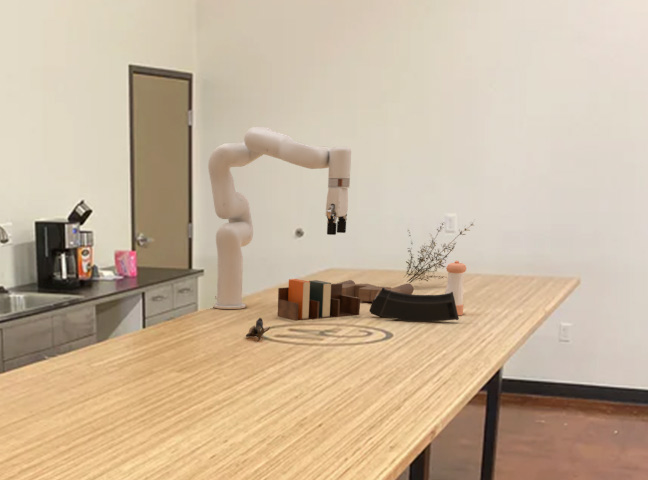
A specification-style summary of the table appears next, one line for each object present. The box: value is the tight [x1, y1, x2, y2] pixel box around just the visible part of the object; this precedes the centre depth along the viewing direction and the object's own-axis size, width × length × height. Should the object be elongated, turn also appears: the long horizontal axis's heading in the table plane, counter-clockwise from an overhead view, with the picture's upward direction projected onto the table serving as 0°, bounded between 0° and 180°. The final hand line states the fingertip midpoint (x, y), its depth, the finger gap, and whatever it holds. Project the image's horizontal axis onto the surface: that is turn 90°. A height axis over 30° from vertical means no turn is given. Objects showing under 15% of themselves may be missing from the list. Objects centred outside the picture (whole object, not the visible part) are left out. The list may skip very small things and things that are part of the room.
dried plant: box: [404, 220, 475, 284], centre depth 466 cm, size 30×31×45 cm
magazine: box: [369, 288, 460, 323], centre depth 373 cm, size 17×3×30 cm
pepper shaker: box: [444, 260, 467, 316], centre depth 387 cm, size 7×7×19 cm
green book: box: [309, 279, 332, 317], centre depth 381 cm, size 9×4×12 cm, turn 26°
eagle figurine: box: [245, 317, 271, 342], centre depth 341 cm, size 8×7×9 cm
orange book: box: [288, 278, 311, 319], centre depth 378 cm, size 9×3×13 cm, turn 26°
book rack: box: [277, 282, 361, 322], centre depth 382 cm, size 12×27×11 cm, turn 116°
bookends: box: [336, 279, 414, 303], centre depth 432 cm, size 35×6×29 cm
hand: (336, 233), depth 380 cm, fingers open, 9 cm apart
